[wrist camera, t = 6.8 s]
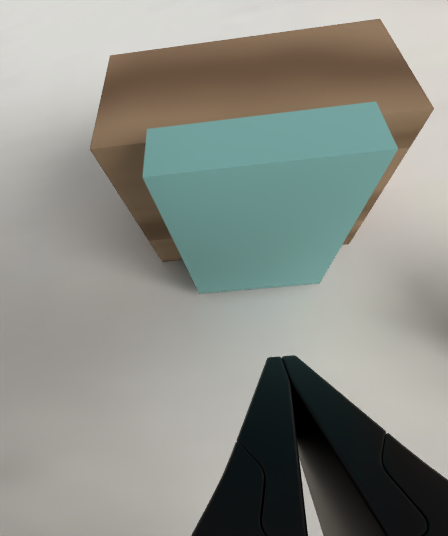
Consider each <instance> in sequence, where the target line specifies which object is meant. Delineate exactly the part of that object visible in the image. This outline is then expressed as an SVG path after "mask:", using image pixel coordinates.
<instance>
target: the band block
mask: <svg viewBox="0 0 448 536" xmlns="http://www.w3.org/2000/svg"><path fill="white" fill-rule="evenodd" d="M367 102H377V105H378V107H379V109H380V111H381V113H382V115H383V117H384V119H385V122H386V124H387V126H388V128H389V130H390V132H391V134H392V137H393V139H394V141H395V143H396V145H397V147H398V150H397V152H396V154H395V155H394V157H393V159H392V161H391V162H390V164H389V166H388V167H387V169H386V171H385V172H384V174H383V176H382V178H381V179H380V181H379V183H378V184H377V186H376V188H375V189H374V191H373V193H372V195H371V196H370V198H369V200H368V201H367V203H366V205H365V206H364V208H363V210H362V212H361V213H360V215H359V217H358V218H357V220H356V222H355V224H354V225H353V227H352V229H351V230H350V232H349V234H348V235H347V237H346V239H345V241H344V242H343V244H342V245H344V244H349V243H350V242H351V240H352V238H353V237H354V235H355V234H356V232H357V230H358V229H359V227H360V226H361V224H362V222H363V221H364V219H365V218H366V216H367V215H368V213H369V211H370V210H371V208H372V207H373V205H374V203H375V202H376V200H377V199H378V197H379V195H380V194H381V192H382V191H383V189H384V188H385V186H386V184H387V183H388V181H389V180H390V178H391V176H392V175H393V173H394V172H395V170H396V168H397V167H398V165H399V164H400V162H401V160H402V159H403V157H404V156H405V154H406V153H407V151H408V149H409V148H410V146H411V145H412V143H413V141H414V140H415V138H416V137H417V135H418V133H419V132H420V130H421V129H422V127H423V126H424V124H425V122H426V121H427V119H428V118H429V116H430V114H431V113H432V111H433V110H434V108H433V106H432V104H431V103H430V101H429V99H428V98H427V96H426V94H425V93H424V91H423V89H422V88H421V86H420V84H419V83H418V81H417V79H416V78H415V76H414V74H413V73H412V71H411V69H410V68H409V66H408V64H407V63H406V61H405V59H404V58H403V56H402V54H401V53H400V51H399V49H398V48H397V46H396V45H395V43H394V41H393V40H392V38H391V36H390V35H389V33H388V31H387V30H386V28H385V26H384V25H383V23H382V21H381V20H380V19H375V20H368V21H360V22H353V23H346V24H338V25H331V26H324V27H316V28H309V29H302V30H294V31H287V32H280V33H272V34H265V35H258V36H250V37H243V38H236V39H228V40H221V41H214V42H206V43H199V44H192V45H184V46H177V47H170V48H162V49H155V50H148V51H140V52H133V53H126V54H118V55H111V56H110V58H109V63H108V68H107V72H106V77H105V82H104V86H103V91H102V95H101V100H100V105H99V109H98V114H97V118H96V123H95V128H94V132H93V137H92V142H91V146H90V150H91V152H92V153H93V155H94V156H95V158H96V160H97V161H98V163H99V164H100V166H101V167H102V169H103V170H104V172H105V174H106V175H107V177H108V178H109V180H110V181H111V183H112V184H113V186H114V187H115V189H116V191H117V192H118V194H119V195H120V197H121V198H122V200H123V201H124V203H125V205H126V206H127V208H128V209H129V211H130V212H131V214H132V215H133V217H134V219H135V220H136V222H137V223H138V225H139V226H140V228H141V229H142V231H143V232H144V234H145V236H146V237H147V239H148V240H149V242H150V243H151V245H152V246H153V248H154V250H155V251H156V253H157V254H158V256H159V257H160V259H161V260H162V261H172V260H183V259H182V257H181V255H180V253H179V251H178V249H177V247H176V245H175V243H174V241H173V239H172V237H171V235H170V233H169V231H168V228H167V226H166V224H165V222H164V220H163V218H162V216H161V214H160V212H159V210H158V208H157V206H156V204H155V202H154V200H153V198H152V196H151V194H150V192H149V190H148V188H147V186H146V183H145V181H144V179H143V166H144V156H145V145H146V135H147V129H151V128H160V127H168V126H176V125H185V124H193V123H201V122H210V121H218V120H226V119H234V118H243V117H251V116H259V115H268V114H276V113H284V112H293V111H301V110H309V109H318V108H326V107H334V106H342V105H351V104H359V103H367Z"/></svg>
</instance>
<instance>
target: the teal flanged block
mask: <svg viewBox="0 0 448 536" xmlns="http://www.w3.org/2000/svg"><path fill="white" fill-rule="evenodd" d="M397 150H398V147H397V145H396V143H395V141H394V139H393V137H392V134H391V132H390V130H389V128H388V126H387V124H386V122H385V119H384V117H383V115H382V113H381V111H380V109H379V107H378V105H377V102H367V103H359V104H351V105H342V106H334V107H326V108H318V109H309V110H301V111H293V112H284V113H276V114H268V115H259V116H251V117H243V118H234V119H226V120H218V121H210V122H201V123H193V124H185V125H176V126H168V127H160V128H151V129H147V135H146V145H145V156H144V166H143V179H144V181H145V183H146V186H147V188H148V190H149V192H150V194H151V196H152V198H153V200H154V202H155V204H156V206H157V208H158V210H159V212H160V214H161V216H162V218H163V220H164V222H165V224H166V226H167V228H168V231H169V233H170V235H171V237H172V239H173V241H174V243H175V245H176V247H177V249H178V251H179V253H180V255H181V257H182V259H183V261H184V263H185V265H186V267H187V269H188V271H189V273H190V276H191V278H192V280H193V282H194V284H195V286H196V288H197V290H198V292H199V294H202V293H214V292H225V291H237V290H249V289H260V288H272V287H284V286H295V285H307V284H318V283H320V281H321V280H322V278H323V276H324V275H325V273H326V271H327V269H328V268H329V266H330V264H331V263H332V261H333V259H334V258H335V256H336V254H337V252H338V251H339V249H340V247H341V246H342V244H343V242H344V241H345V239H346V237H347V235H348V234H349V232H350V230H351V229H352V227H353V225H354V224H355V222H356V220H357V218H358V217H359V215H360V213H361V212H362V210H363V208H364V206H365V205H366V203H367V201H368V200H369V198H370V196H371V195H372V193H373V191H374V189H375V188H376V186H377V184H378V183H379V181H380V179H381V178H382V176H383V174H384V172H385V171H386V169H387V167H388V166H389V164H390V162H391V161H392V159H393V157H394V155H395V154H396V152H397Z"/></svg>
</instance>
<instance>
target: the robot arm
mask: <svg viewBox="0 0 448 536" xmlns="http://www.w3.org/2000/svg"><path fill="white" fill-rule="evenodd" d="M299 458H300V461H301V465H302V468H303V471H304V474H305V477H306V481H307V484H308V487H309V490H310V493H311V497H312V500H313V503H314V506H315V510H316V513H317V516H318V519H319V522H320V526H321V529H322V532H323V535H324V536H448V480H447V479H446V478H445V477H443V476H442V475H441V474H439V473H438V472H437V471H435V470H434V469H432V468H431V467H430V466H428V465H427V464H426V463H425V462H423V461H422V460H421V459H420V458H418V457H417V456H416V455H415V454H413V453H412V452H411V451H410V450H408V449H407V448H406V447H405V446H403V445H402V444H401V443H400V442H398V441H397V440H396V439H395V438H394V437H392V436H391V435H390V434H389V433H387V434H386V431H385V430H384V429H383V428H382V427H380V426H379V425H378V424H377V423H376V422H374V421H373V420H372V419H371V418H370V417H368V416H367V415H366V414H365V413H364V412H362V411H361V410H360V409H359V408H358V407H356V406H355V405H354V404H353V403H352V402H350V401H349V400H348V399H347V398H346V397H344V396H343V395H342V394H341V393H340V392H338V391H337V390H336V389H335V388H334V387H332V386H331V385H330V384H329V383H328V382H326V381H325V380H324V379H323V378H322V377H321V376H319V375H318V374H317V373H316V372H315V371H313V370H312V369H311V368H310V367H309V366H307V365H306V364H305V363H304V362H303V361H301V360H300V359H299V358H298V357H297V356H294V355H293V356H283V357H282V358H281V357H269V358H267V360H266V363H265V366H264V368H263V371H262V374H261V377H260V379H259V382H258V385H257V387H256V390H255V393H254V395H253V398H252V401H251V403H250V406H249V409H248V411H247V414H246V417H245V419H244V422H243V425H242V427H241V430H240V433H239V435H238V438H237V442H236V443H235V446H234V448H233V451H232V454H231V456H230V459H229V461H228V463H227V466H226V468H225V471H224V473H223V475H222V477H221V479H220V482H219V484H218V486H217V488H216V490H215V492H214V494H213V496H212V498H211V500H210V501H209V503H208V505H207V507H206V509H205V511H204V513H203V515H202V516H201V518H200V520H199V522H198V524H197V526H196V528H195V530H194V531H193V533H192V535H191V536H308V532H307V523H306V514H305V506H304V497H303V488H302V479H301V470H300V461H299Z"/></svg>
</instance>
